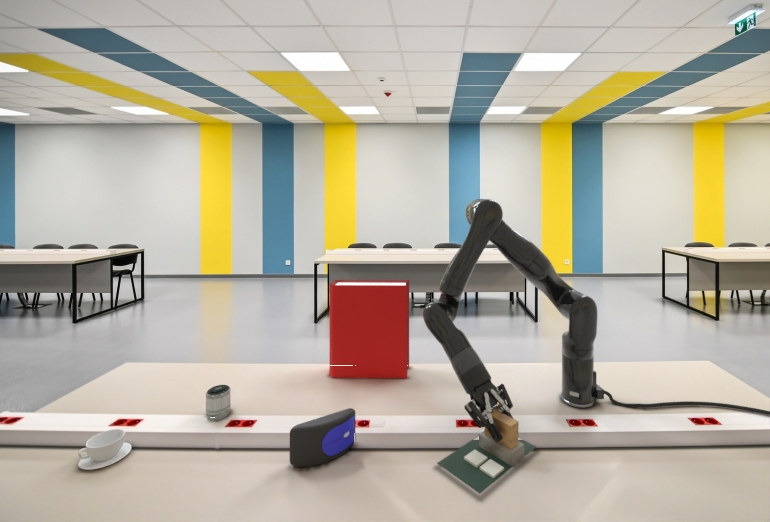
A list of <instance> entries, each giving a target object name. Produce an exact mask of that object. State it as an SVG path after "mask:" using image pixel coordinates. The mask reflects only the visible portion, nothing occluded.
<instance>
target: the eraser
mask: <svg viewBox="0 0 770 522" xmlns="http://www.w3.org/2000/svg"><path fill="white" fill-rule="evenodd" d="M491 409H492V413H491V415H492V418H493V423H495V424H496V426H497V428H498V430H499V431H500V433H501V435H502V437H503V439H502V440H501V441H499V442H498V443H497V442H495V441H494V440H493V438H492V436H491V435H490V433H489V431H488V429H487V428H486V427H484V431H482V432H481V433H479V434H478V436H479V447H481V448H482V449H484V450H486V451H487V452H489V453H491V454H492V455H494V456H496V457H497V458H499V459H501V460H502V461H504V462H506V463H507V464H509V465H511V466H513V465H514V466H515V465H517V464H518V463H519V462H520V461H522V460H523V459H524V458H525V457H524V444H523V443H521V442H519V441H518V437H519V420H517V419H515V418H514V417H513V418H511V417H509V416H507V415H505V414H503V413H501V412H499V411H497V410H495V409H493V408H491ZM523 457H524V458H523ZM522 458H523V459H522ZM518 461H519V462H518ZM517 462H518V463H517ZM516 463H517V464H516ZM514 466H513V467H514Z"/></svg>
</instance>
